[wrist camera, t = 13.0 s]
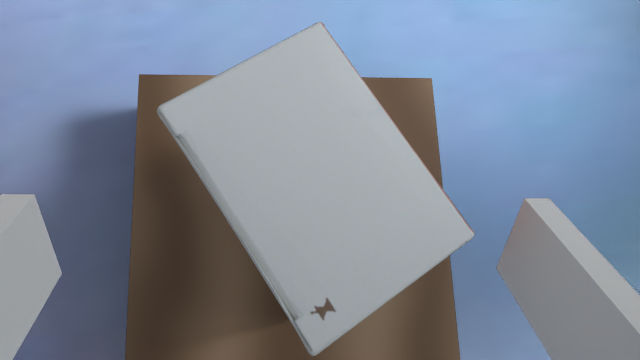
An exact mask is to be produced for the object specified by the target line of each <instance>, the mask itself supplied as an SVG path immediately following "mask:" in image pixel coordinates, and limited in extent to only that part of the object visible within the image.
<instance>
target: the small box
mask: <svg viewBox="0 0 640 360" xmlns="http://www.w3.org/2000/svg"><path fill="white" fill-rule="evenodd" d="M157 113H158V115H159V117H160V119H161V120H162V121H163V123H164V124H165V126H166V127H167V128H168V130H169V131H170V133H171V134H172V136H173V137H174V139H175V140H176V142H177V143H178V145H179V146H180V148H181V149H182V151H183V152H184V154H185V155H186V157H187V158H188V160H189V162H190V163H191V165H192V166H193V168H194V169H195V171H196V172H197V174H198V175H199V177H200V179H201V180H202V182H203V183H204V185H205V186H206V188H207V190H208V191H209V193H210V194H211V196H212V197H213V199H214V201H215V202H216V204H217V205H218V207H219V208H220V210H221V212H222V213H223V215H224V216H225V218H226V219H227V221H228V223H229V224H230V226H231V227H232V229H233V230H234V232H235V234H236V235H237V237H238V238H239V240H240V242H241V243H242V245H243V246H244V248H245V249H246V251H247V253H248V254H249V256H250V257H251V259H252V261H253V262H254V264H255V265H256V267H257V269H258V270H259V272H260V273H261V275H262V277H263V278H264V280H265V281H266V283H267V285H268V286H269V288H270V289H271V291H272V293H273V294H274V296H275V297H276V299H277V301H278V302H279V304H280V305H281V307H282V309H283V310H284V312H285V313H286V315H287V317H288V318H289V320H290V321H291V323H292V325H293V326H294V328H295V330H296V332H297V333H298V335H299V337H300V338H301V340H302V342H303V344H304V346H305V348H306V349H307V351H308V353H309V354H310V355H312V356H316V355H317V354H319V353H320V352H321V351H323V350H324V349H325V348H327V347H328V346H329V345H331V344H332V343H333V342H335V341H336V340H337V339H339V338H340V337H341V336H343V335H344V334H345V333H347V332H348V331H349V330H351V329H352V328H353V327H355V326H356V325H357V324H359V323H360V322H361V321H363V320H364V319H365V318H367V317H368V316H369V315H371V314H372V313H373V312H375V311H376V310H377V309H378V308H380V307H381V306H382V305H384V304H385V303H386V302H388V301H389V300H390V299H392V298H393V297H394V296H396V295H397V294H398V293H400V292H401V291H403V290H404V289H405V288H407V287H408V286H409V285H411V284H412V283H413V282H415V281H416V280H417V279H419V278H420V277H421V276H423V275H424V274H425V273H427V272H428V271H429V270H431V269H432V268H433V267H435V266H436V265H437V264H439V263H440V262H441V261H443V260H444V259H445V258H447V257H448V256H449V255H451V254H452V253H453V252H455V251H456V250H457V249H459V248H460V247H462V246H463V245H464V244H466V243H467V242H468V241H470V240H471V239H472V238H473V237H474V235H475V234H474V231H473V230H472V229H471V228H470V226H469V225H468V224H467V222H466V221H465V220H464V218H463V217H462V215H461V214H460V213H459V211H458V210H457V208H456V207H455V206H454V204H453V203H452V201H451V200H450V198H449V197H448V196H447V194H446V193H445V192H444V190H443V189H442V188H441V186H440V185H439V184H438V182H437V181H436V179H435V178H434V177H433V175H432V174H431V173H430V171H429V170H428V168H427V167H426V166H425V164H424V163H423V162H422V160H421V159H420V157H419V156H418V155H417V153H416V152H415V151H414V149H413V148H412V147H411V145H410V144H409V143H408V141H407V140H406V139H405V137H404V136H403V134H402V133H401V131H400V130H399V129H398V127H397V126H396V125H395V123H394V122H393V120H392V119H391V118H390V116H389V115H388V113H387V112H386V111H385V109H384V108H383V107H382V105H381V104H380V103H379V101H378V100H377V98H376V97H375V96H374V94H373V93H372V91H371V90H370V89H369V87H368V86H367V85H366V83H365V82H364V81H363V79H362V78H361V76H360V75H359V74H358V72H357V71H356V69H355V68H354V67H353V65H352V64H351V62H350V61H349V60H348V58H347V57H346V55H345V54H344V53H343V51H342V50H341V48H340V47H339V46H338V44H337V43H336V42H335V40H334V39H333V37H332V36H331V35H330V33H329V32H328V31H327V29H326V28H325V26H324V24H323V23H322V22H318V23H315V24H314V25H312V26H310V27H308V28H306V29H304V30H302V31H301V32H299V33H297V34H295V35H293V36H291V37H289V38H287V39H285V40H283V41H282V42H280V43H278V44H276V45H274V46H272V47H270V48H268V49H266V50H264V51H262V52H261V53H259V54H257V55H255V56H253V57H251V58H249V59H247V60H245V61H243V62H242V63H240V64H238V65H236V66H234V67H232V68H230V69H228V70H226V71H224V72H222V73H221V74H219V75H217V76H215V77H213V78H211V79H209V80H207V81H205V82H203V83H202V84H200V85H198V86H196V87H194V88H192V89H190V90H188V91H186V92H185V93H183V94H181V95H179V96H177V97H175V98H173V99H171V100H169V101H167V102H165V103H163V104H161V105H160V106H159V107H158V109H157Z"/></svg>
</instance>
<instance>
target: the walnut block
mask: <svg viewBox="0 0 640 360" xmlns="http://www.w3.org/2000/svg"><path fill="white" fill-rule="evenodd" d="M215 76H217V75H143V74H139V88H138V108H137V129H136V149H135V169H134V189H133V209H132V229H131V249H130V270H129V290H128V310H127V330H126V350H125V360H460V352H459V342H458V332H457V322H456V312H455V303H454V293H453V283H452V273H451V263H450V255H449V256H448V257H447V258H445V259H444V260H443V261H441V262H440V263H439V264H437V265H436V266H435V267H433V268H432V269H431V270H429V271H428V272H427V273H425V274H424V275H423V276H421V277H420V278H419V279H417V280H416V281H415V282H413V283H412V284H411V285H409V286H408V287H407V288H405V289H404V290H403V291H401V292H400V293H398V294H397V295H396V296H394V297H393V298H392V299H390V300H389V301H388V302H386V303H385V304H384V305H382V306H381V307H380V308H378V309H377V310H376V311H375V312H373V313H372V314H371V315H369V316H368V317H367V318H365V319H364V320H363V321H361V322H360V323H359V324H357V325H356V326H355V327H353V328H352V329H351V330H349V331H348V332H347V333H345V334H344V335H343V336H341V337H340V338H339V339H337V340H336V341H335V342H333V343H332V344H331V345H329V346H328V347H327V348H325V349H324V350H323V351H321V352H320V353H319V354H317V355H316V356H312V355H310V354H309V353H308V351H307V349H306V348H305V346H304V344H303V342H302V340H301V338H300V337H299V335H298V333H297V332H296V330H295V328H294V326H293V325H292V323H291V321H290V320H289V318H288V317H287V315H286V313H285V312H284V310H283V309H282V307H281V305H280V304H279V302H278V301H277V299H276V297H275V296H274V294H273V293H272V291H271V289H270V288H269V286H268V285H267V283H266V281H265V280H264V278H263V277H262V275H261V273H260V272H259V270H258V269H257V267H256V265H255V264H254V262H253V261H252V259H251V257H250V256H249V254H248V253H247V251H246V249H245V248H244V246H243V245H242V243H241V242H240V240H239V238H238V237H237V235H236V234H235V232H234V230H233V229H232V227H231V226H230V224H229V223H228V221H227V219H226V218H225V216H224V215H223V213H222V212H221V210H220V208H219V207H218V205H217V204H216V202H215V201H214V199H213V197H212V196H211V194H210V193H209V191H208V190H207V188H206V186H205V185H204V183H203V182H202V180H201V179H200V177H199V175H198V174H197V172H196V171H195V169H194V168H193V166H192V165H191V163H190V162H189V160H188V158H187V157H186V155H185V154H184V152H183V151H182V149H181V148H180V146H179V145H178V143H177V142H176V140H175V139H174V137H173V136H172V134H171V133H170V131H169V130H168V128H167V127H166V126H165V124H164V123H163V121H162V120H161V119H160V117H159V115H158V113H157V109H158V107H159V106H160V105H161V104H163V103H165V102H167V101H169V100H171V99H173V98H175V97H177V96H179V95H181V94H183V93H185V92H186V91H188V90H190V89H192V88H194V87H196V86H198V85H200V84H202V83H203V82H205V81H207V80H209V79H211V78H213V77H215ZM361 78H362V79H363V81H364V82H365V83H366V85H367V86H368V87H369V89H370V90H371V91H372V93H373V94H374V96H375V97H376V98H377V100H378V101H379V103H380V104H381V105H382V107H383V108H384V109H385V111H386V112H387V113H388V115H389V116H390V118H391V119H392V120H393V122H394V123H395V125H396V126H397V127H398V129H399V130H400V131H401V133H402V134H403V136H404V137H405V139H406V140H407V141H408V143H409V144H410V145H411V147H412V148H413V149H414V151H415V152H416V153H417V155H418V156H419V157H420V159H421V160H422V162H423V163H424V164H425V166H426V167H427V168H428V170H429V171H430V173H431V174H432V175H433V177H434V178H435V179H436V181H437V182H438V184H439V185H440V186H441V188H442V189H443V185H442V175H441V165H440V156H439V146H438V136H437V126H436V116H435V106H434V97H433V87H432V78H365V77H361Z"/></svg>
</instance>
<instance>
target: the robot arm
mask: <svg viewBox="0 0 640 360" xmlns="http://www.w3.org/2000/svg"><path fill="white" fill-rule="evenodd" d="M496 269H497V271H498V272H499V274H500V276H501V277H502V279H503V281H504V282H505V284H506V285H507V287H508V289H509V290H510V292H511V294H512V295H513V297H514V299H515V300H516V302H517V304H518V305H519V307H520V308H521V310H522V312H523V313H524V315H525V317H526V318H527V320H528V322H529V323H530V325H531V327H532V328H533V330H534V331H535V333H536V335H537V336H538V338H539V340H540V341H541V343H542V345H543V346H544V348H545V350H546V351H547V353H548V355H549V356H550V358H551V359H552V360H640V295H639V294H638V293H637V292H636V291H635V290H634V289H633V288H632V287H631V285H630V284H629V283H628V282H627V281H626V280H625V279H624V278H623V277H622V276H621V275H620V274H619V273H618V272H617V270H616V269H615V268H614V267H613V266H612V265H611V264H610V263H609V262H608V261H607V260H606V259H605V258H604V257H603V255H602V254H601V253H600V252H599V251H598V250H597V249H596V248H595V247H594V246H593V245H592V244H591V243H590V242H589V240H588V239H587V238H586V237H585V236H584V235H583V234H582V233H581V232H580V231H579V230H578V229H577V228H576V227H575V225H574V224H573V223H572V222H571V221H570V220H569V219H568V218H567V217H566V216H565V215H564V214H563V213H562V211H561V210H560V209H559V208H558V207H557V206H556V205H555V204H554V203H553V202H552V201H551V200H550V199H549V198H524V201H523V203H522V206H521V208H520V211H519V213H518V215H517V218H516V220H515V223H514V225H513V228H512V230H511V233H510V235H509V238H508V240H507V243H506V245H505V248H504V250H503V253H502V255H501V258H500V260H499V262H498V265H497V267H496ZM61 275H62V272H61V269H60V266H59V263H58V260H57V257H56V254H55V252H54V249H53V246H52V243H51V240H50V237H49V234H48V232H47V229H46V226H45V223H44V220H43V217H42V214H41V212H40V209H39V206H38V203H37V200H36V197H35V194H1V195H0V360H13V358H14V357H15V355H16V353H17V351H18V350H19V348H20V346H21V345H22V343H23V341H24V339H25V338H26V336H27V334H28V332H29V331H30V329H31V327H32V325H33V324H34V322H35V320H36V318H37V317H38V315H39V313H40V311H41V310H42V308H43V306H44V304H45V303H46V301H47V299H48V297H49V296H50V294H51V292H52V290H53V289H54V287H55V285H56V283H57V282H58V280H59V278H60V277H61Z"/></svg>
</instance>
